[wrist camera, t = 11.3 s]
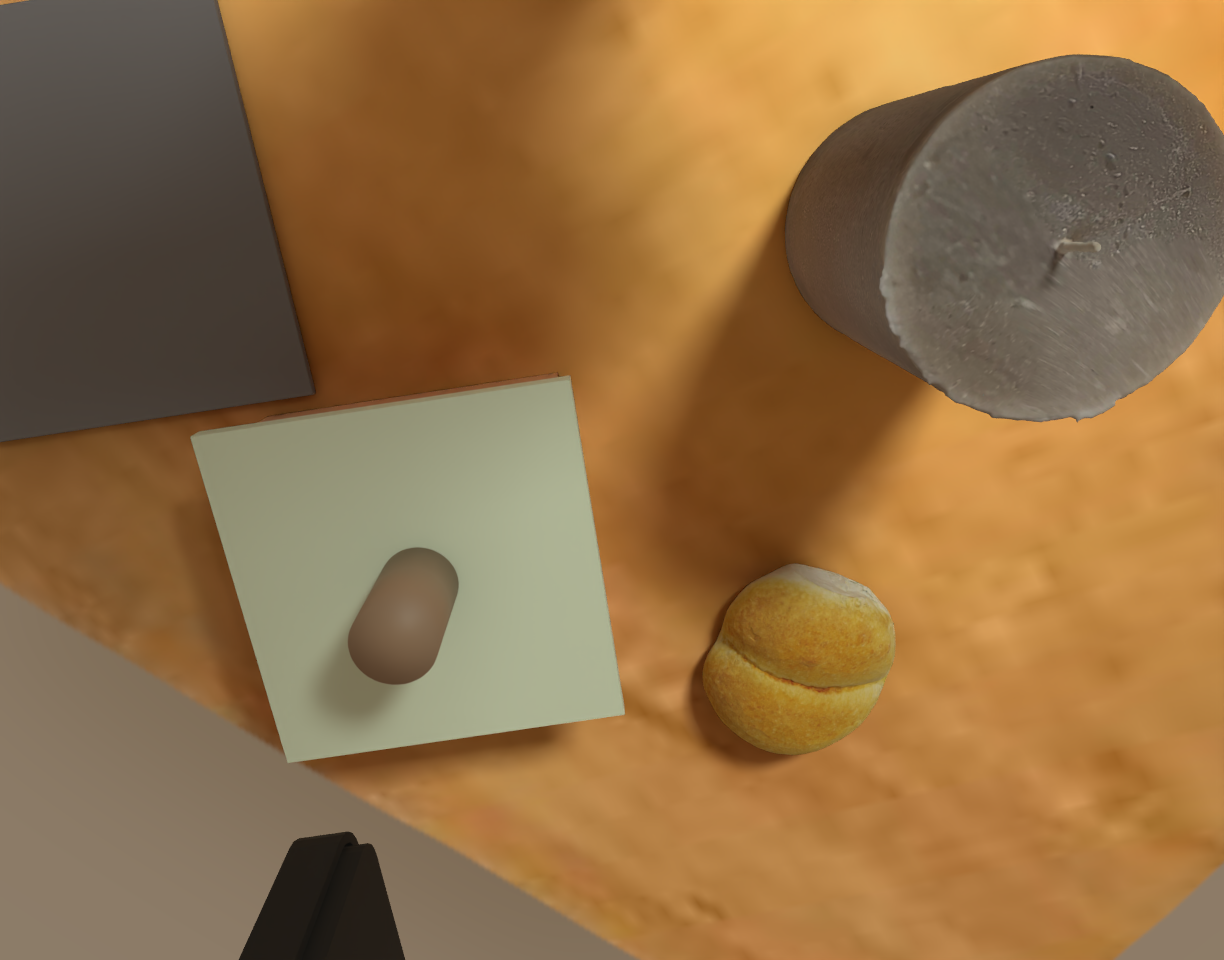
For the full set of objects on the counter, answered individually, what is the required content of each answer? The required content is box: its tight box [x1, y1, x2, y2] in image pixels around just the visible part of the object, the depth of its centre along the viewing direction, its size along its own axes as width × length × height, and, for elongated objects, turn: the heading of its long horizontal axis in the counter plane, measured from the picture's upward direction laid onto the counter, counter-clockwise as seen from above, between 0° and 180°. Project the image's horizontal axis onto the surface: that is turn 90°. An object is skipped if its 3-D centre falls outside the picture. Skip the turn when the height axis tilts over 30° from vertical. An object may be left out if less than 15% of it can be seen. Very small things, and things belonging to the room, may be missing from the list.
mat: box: [0, 0, 316, 442], centre depth 36 cm, size 16×16×1 cm
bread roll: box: [702, 563, 895, 755], centre depth 41 cm, size 8×9×4 cm
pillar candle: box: [785, 55, 1224, 422], centre depth 30 cm, size 10×10×15 cm
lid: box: [190, 375, 625, 763], centre depth 33 cm, size 14×14×6 cm
